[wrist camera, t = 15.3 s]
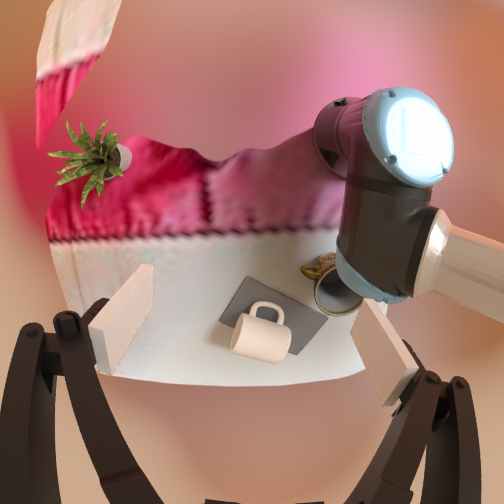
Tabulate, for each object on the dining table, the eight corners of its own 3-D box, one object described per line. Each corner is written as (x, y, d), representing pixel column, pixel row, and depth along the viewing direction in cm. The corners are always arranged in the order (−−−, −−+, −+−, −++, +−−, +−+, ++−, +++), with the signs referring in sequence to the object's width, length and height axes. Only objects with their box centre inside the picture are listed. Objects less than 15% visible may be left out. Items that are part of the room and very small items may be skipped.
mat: (327, 316, 57) (328, 318, 57) (296, 353, 61) (297, 355, 60) (247, 276, 54) (246, 277, 53) (219, 319, 58) (219, 321, 57)
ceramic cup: (361, 256, 52) (381, 277, 43) (336, 296, 55) (350, 323, 46) (307, 228, 50) (318, 246, 41) (282, 273, 54) (288, 299, 44)
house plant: (117, 103, 42) (68, 91, 27) (169, 139, 45) (130, 136, 29) (82, 164, 46) (29, 174, 31) (129, 201, 49) (83, 223, 34)
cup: (272, 359, 57) (228, 346, 56) (289, 308, 60) (245, 294, 58) (282, 369, 49) (232, 356, 48) (302, 311, 52) (252, 295, 50)
